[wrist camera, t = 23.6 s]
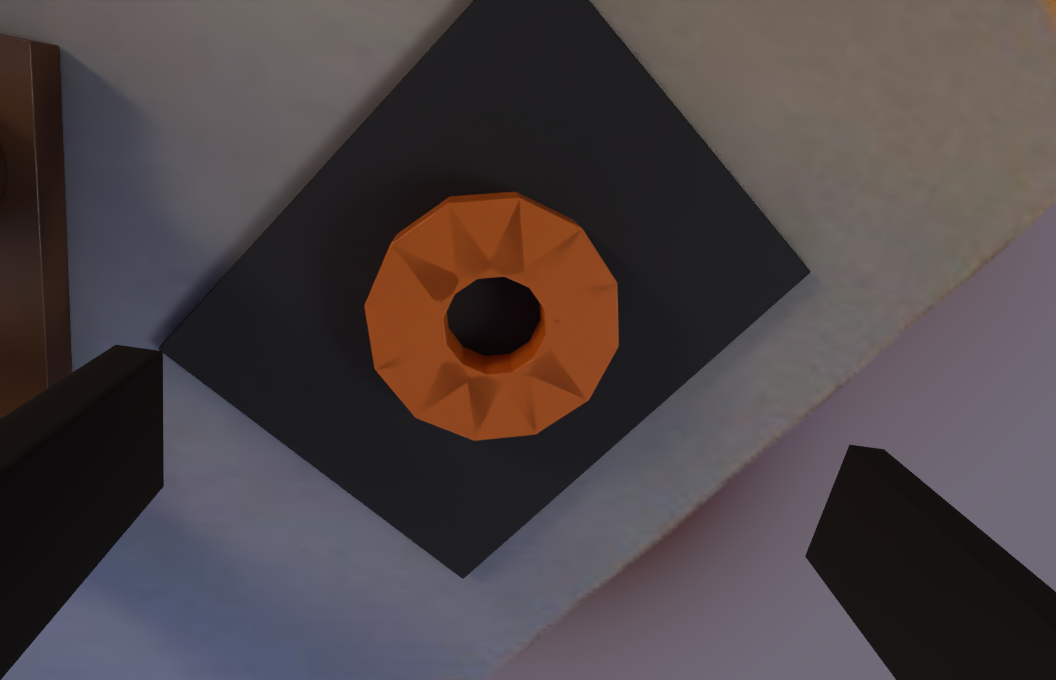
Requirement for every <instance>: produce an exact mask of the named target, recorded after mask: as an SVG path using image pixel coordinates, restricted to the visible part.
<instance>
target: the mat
mask: <svg viewBox="0 0 1056 680" xmlns="http://www.w3.org/2000/svg"><path fill="white" fill-rule="evenodd" d="M502 192H518V193H520V194H522V195H524V196H526V197H528V198H530V199H532V200H534V201H536V202H538V203H540V204H542V205H544V206H547V207H549V208H551V209H553V210H555V211H557V212H559V213H561V214H563V215H565V216H567V217H569V218H571V219H573V220H574V221H575V222H576V223H577V224H578V225H580V226H581V227H582V228H583V230H584V232H585V233H586V235H587V236H588V238H589V239H590V241H591V242H592V244H593V246H594V247H595V249H596V250H597V252H598V253H599V255H600V257H601V258H602V260H603V261H604V263H605V264H606V266H607V267H608V269H609V271H610V272H611V274H612V275H613V277H614V278H615V280H616V282H617V284H618V329H619V347H618V348H617V350H616V352H615V354H614V356H613V358H612V359H611V361H610V363H609V365H608V367H607V368H606V370H605V372H604V374H603V376H602V377H601V379H600V381H599V383H598V385H597V386H596V388H595V390H594V392H593V394H592V395H591V397H590V399H589V400H588V401H587V402H585V403H584V404H582V405H581V406H579V407H577V408H576V409H574V410H573V411H571V412H570V413H568V414H567V415H565V416H563V417H562V418H560V419H559V420H557V421H556V422H554V423H553V424H551V425H549V426H548V427H546V428H545V429H543V430H542V431H540V432H539V433H537V434H536V435H526V436H516V437H506V438H497V439H487V440H477V441H473V440H471V439H469V438H466V437H463V436H461V435H458V434H456V433H453V432H451V431H448V430H446V429H443V428H440V427H438V426H435V425H433V424H430V423H428V422H425V421H422V420H420V419H417V418H415V417H414V415H413V414H412V413H411V412H410V411H409V409H408V408H407V407H406V406H405V405H404V403H403V402H402V401H401V400H400V399H399V398H398V396H397V395H396V394H395V393H394V392H393V390H392V389H391V388H390V387H389V386H388V384H387V383H386V382H385V381H384V380H383V378H382V377H381V376H380V375H379V374H378V373H377V371H376V370H375V369H374V363H373V357H372V350H371V344H370V338H369V332H368V325H367V319H366V313H365V307H364V305H365V303H366V300H367V298H368V296H369V293H370V291H371V289H372V286H373V284H374V281H375V279H376V277H377V274H378V272H379V270H380V267H381V265H382V263H383V260H384V258H385V256H386V253H387V251H388V248H389V246H390V244H391V242H392V241H393V239H394V238H395V236H396V235H397V234H398V233H399V232H401V231H402V230H403V229H405V228H406V227H408V226H409V225H411V224H412V223H413V222H415V221H416V220H418V219H419V218H420V217H422V216H423V215H425V214H426V213H427V212H429V211H430V210H432V209H433V208H434V207H436V206H437V205H439V204H440V203H442V202H443V201H444V200H446V199H447V198H449V197H451V196H464V195H476V194H489V193H502ZM809 273H810V270H809V269H808V268H807V267H806V265H805V264H804V263H803V262H802V261H801V259H800V258H799V257H798V256H797V254H796V253H795V252H794V251H793V250H792V248H791V247H790V246H789V245H788V243H787V242H786V241H785V240H784V238H783V237H782V236H781V235H780V234H779V232H778V231H777V230H776V229H775V227H774V226H773V225H772V224H771V223H770V221H769V220H768V219H767V218H766V216H765V215H764V214H763V213H762V212H761V210H760V209H759V208H758V207H757V205H756V204H755V203H754V202H753V201H752V199H751V198H750V197H749V196H748V194H747V193H746V192H745V191H744V190H743V188H742V187H741V186H740V185H739V183H738V182H737V181H736V180H735V179H734V177H733V176H732V175H731V174H730V172H729V171H728V170H727V169H726V168H725V166H724V165H723V164H722V163H721V161H720V160H719V159H718V158H717V157H716V155H715V154H714V153H713V152H712V150H711V149H710V148H709V147H708V146H707V144H706V143H705V142H704V141H703V139H702V138H701V137H700V136H699V135H698V133H697V132H696V131H695V130H694V128H693V127H692V126H691V125H690V124H689V122H688V121H687V120H686V119H685V117H684V116H683V115H682V114H681V113H680V111H679V110H678V109H677V108H676V106H675V105H674V104H673V103H672V102H671V100H670V99H669V98H668V97H667V95H666V94H665V93H664V92H663V91H662V89H661V88H660V87H659V86H658V84H657V83H656V82H655V81H654V79H653V78H652V77H651V76H650V75H649V73H648V72H647V71H646V70H645V68H644V67H643V66H642V65H641V64H640V62H639V61H638V60H637V59H636V57H635V56H634V55H633V54H632V53H631V51H630V50H629V49H628V48H627V46H626V45H625V44H624V43H623V42H622V40H621V39H620V38H619V37H618V35H617V34H616V33H615V32H614V31H613V29H612V28H611V27H610V26H609V24H608V23H607V22H606V21H605V20H604V18H603V17H602V16H601V15H600V13H599V12H598V11H597V10H596V9H595V7H594V6H593V5H592V4H591V2H590V1H589V0H474V1H473V2H472V3H471V4H470V5H469V6H468V8H467V9H466V10H465V11H464V12H463V13H462V14H461V15H460V16H459V17H458V19H457V20H456V21H455V22H454V23H453V24H452V25H451V26H450V27H449V28H448V30H447V31H446V32H445V33H444V34H443V35H442V36H441V37H440V38H439V40H438V41H437V42H436V43H435V44H434V45H433V46H432V47H431V48H430V49H429V51H428V52H427V53H426V54H425V55H424V56H423V57H422V58H421V59H420V60H419V62H418V63H417V64H416V65H415V66H414V67H413V68H412V69H411V70H410V71H409V73H408V74H407V75H406V76H405V77H404V78H403V79H402V80H401V81H400V83H399V84H398V85H397V86H396V87H395V88H394V89H393V90H392V91H391V92H390V94H389V95H388V96H387V97H386V98H385V99H384V100H383V101H382V102H381V103H380V105H379V106H378V107H377V108H376V109H375V110H374V111H373V112H372V113H371V114H370V116H369V117H368V118H367V119H366V120H365V121H364V122H363V123H362V124H361V126H360V127H359V128H358V129H357V130H356V131H355V132H354V133H353V134H352V135H351V137H350V138H349V139H348V140H347V141H346V142H345V143H344V144H343V145H342V146H341V148H340V149H339V150H338V151H337V152H336V153H335V154H334V155H333V156H332V157H331V159H330V160H329V161H328V162H327V163H326V164H325V165H324V166H323V167H322V169H321V170H320V171H319V172H318V173H317V174H316V175H315V176H314V177H313V178H312V180H311V181H310V182H309V183H308V184H307V185H306V186H305V187H304V188H303V189H302V191H301V192H300V193H299V194H298V195H297V196H296V197H295V198H294V199H293V200H292V202H291V203H290V204H289V205H288V206H287V207H286V208H285V209H284V210H283V211H282V213H281V214H280V215H279V216H278V217H277V218H276V219H275V220H274V221H273V223H272V224H271V225H270V226H269V227H268V228H267V229H266V230H265V231H264V232H263V234H262V235H261V236H260V237H259V238H258V239H257V240H256V241H255V242H254V243H253V245H252V246H251V247H250V248H249V249H248V250H247V251H246V252H245V253H244V254H243V256H242V257H241V258H240V259H239V260H238V261H237V262H236V263H235V264H234V266H233V267H232V268H231V269H230V270H229V271H228V272H227V273H226V274H225V275H224V277H223V278H222V279H221V280H220V281H219V282H218V283H217V284H216V285H215V286H214V288H213V289H212V290H211V291H210V292H209V293H208V294H207V295H206V296H205V297H204V299H203V300H202V301H201V302H200V303H199V304H198V305H197V306H196V307H195V309H194V310H193V311H192V312H191V313H190V314H189V315H188V316H187V317H186V318H185V320H184V321H183V322H182V323H181V324H180V325H179V326H178V327H177V328H176V329H175V331H174V332H173V333H172V334H171V335H170V336H169V337H168V338H167V339H166V340H165V342H164V343H163V344H162V345H161V346H160V347H159V350H160V351H163V353H164V354H166V355H167V356H168V357H170V358H171V359H172V360H174V361H175V362H176V363H178V364H179V365H180V366H181V367H183V368H184V369H185V370H187V371H188V372H189V373H191V374H192V375H193V376H195V377H196V378H197V379H199V380H200V381H201V382H203V383H204V384H205V385H207V386H208V387H209V388H211V389H212V390H213V391H215V392H216V393H217V394H219V395H220V396H221V397H223V398H224V399H225V400H227V401H228V402H229V403H231V404H232V405H233V406H234V407H236V408H237V409H238V410H240V411H241V412H242V413H244V414H245V415H246V416H248V417H249V418H250V419H252V420H253V421H254V422H256V423H257V424H258V425H260V426H261V427H262V428H264V429H265V430H266V431H268V432H269V433H270V434H272V435H273V436H274V437H276V438H277V439H278V440H280V441H281V442H282V443H284V444H285V445H286V446H287V447H289V448H290V449H291V450H293V451H294V452H295V453H297V454H298V455H299V456H301V457H302V458H303V459H305V460H306V461H307V462H309V463H310V464H311V465H313V466H314V467H315V468H317V469H318V470H319V471H321V472H322V473H323V474H325V475H326V476H327V477H329V478H330V479H331V480H333V481H334V482H335V483H337V484H338V485H339V486H340V487H342V488H343V489H344V490H346V491H347V492H348V493H350V494H351V495H352V496H354V497H355V498H356V499H358V500H359V501H360V502H362V503H363V504H364V505H366V506H367V507H368V508H370V509H371V510H372V511H374V512H375V513H376V514H378V515H379V516H380V517H382V518H383V519H384V520H386V521H387V522H388V523H390V524H391V525H392V526H393V527H395V528H396V529H397V530H399V531H400V532H401V533H403V534H404V535H405V536H407V537H408V538H409V539H411V540H412V541H413V542H415V543H416V544H417V545H419V546H420V547H421V548H423V549H424V550H425V551H427V552H428V553H429V554H431V555H432V556H433V557H435V558H436V559H437V560H439V561H440V562H441V563H443V564H444V565H445V566H446V567H448V568H449V569H450V570H452V571H453V572H454V573H456V574H457V575H458V576H460V577H461V578H465V577H466V576H467V575H468V574H469V573H470V572H471V571H473V570H474V569H475V568H476V567H477V566H478V565H479V564H480V563H482V562H483V561H484V560H485V559H486V558H487V557H488V556H490V555H491V554H492V553H493V552H494V551H495V550H496V549H497V548H499V547H500V546H501V545H502V544H503V543H504V542H505V541H507V540H508V539H509V538H510V537H511V536H512V535H513V534H514V533H516V532H517V531H518V530H519V529H520V528H521V527H522V526H524V525H525V524H526V523H527V522H528V521H529V520H530V519H531V518H533V517H534V516H535V515H536V514H537V513H538V512H539V511H541V510H542V509H543V508H544V507H545V506H546V505H547V504H548V503H550V502H551V501H552V500H553V499H554V498H555V497H556V496H557V495H559V494H560V493H561V492H562V491H563V490H564V489H565V488H567V487H568V486H569V485H570V484H571V483H572V482H573V481H574V480H576V479H577V478H578V477H579V476H580V475H581V474H582V473H584V472H585V471H586V470H587V469H588V468H589V467H590V466H591V465H593V464H594V463H595V462H596V461H597V460H598V459H599V458H601V457H602V456H603V455H604V454H605V453H606V452H607V451H608V450H610V449H611V448H612V447H613V446H614V445H615V444H616V443H618V442H619V441H620V440H621V439H622V438H623V437H624V436H625V435H627V434H628V433H629V432H630V431H631V430H632V429H633V428H635V427H636V426H637V425H638V424H639V423H640V422H641V421H642V420H644V419H645V418H646V417H647V416H648V415H649V414H650V413H652V412H653V411H654V410H655V409H656V408H657V407H658V406H659V405H661V404H662V403H663V402H664V401H665V400H666V399H667V398H669V397H670V396H671V395H672V394H673V393H674V392H675V391H676V390H678V389H679V388H680V387H681V386H682V385H683V384H684V383H686V382H687V381H688V380H689V379H690V378H691V377H692V376H693V375H695V374H696V373H697V372H698V371H699V370H700V369H701V368H703V367H704V366H705V365H706V364H707V363H708V362H709V361H710V360H712V359H713V358H714V357H715V356H716V355H717V354H718V353H719V352H721V351H722V350H723V349H724V348H725V347H726V346H727V345H729V344H730V343H731V342H732V341H733V340H734V339H735V338H736V337H738V336H739V335H740V334H741V333H742V332H743V331H744V330H746V329H747V328H748V327H749V326H750V325H751V324H752V323H753V322H755V321H756V320H757V319H758V318H759V317H760V316H761V315H763V314H764V313H765V312H766V311H767V310H768V309H769V308H770V307H772V306H773V305H774V304H775V303H776V302H777V301H778V300H780V299H781V298H782V297H783V296H784V295H785V294H786V293H787V292H789V291H790V290H791V289H792V288H793V287H794V286H795V285H797V284H798V283H799V282H800V281H801V280H802V279H803V278H804V277H806V276H807V275H808V274H809ZM447 318H448V327H449V329H450V330H451V332H452V333H453V334H454V336H455V337H456V338H457V339H458V341H459V342H460V343H461V345H462V346H463V347H465V348H467V349H470V350H472V351H474V352H477V353H479V354H481V355H484V356H491V355H501V354H510V353H512V352H513V351H515V350H516V349H518V348H519V347H521V346H522V345H524V344H525V343H527V342H528V341H530V339H531V337H532V335H533V333H534V331H535V329H536V327H537V325H538V323H539V321H540V308H539V301H538V300H537V298H536V297H535V296H534V294H533V293H532V291H531V290H530V288H528V287H526V286H524V285H522V284H520V283H517V282H515V281H513V280H511V279H509V278H507V277H495V278H483V279H477V280H475V281H474V282H472V283H471V284H469V285H468V286H466V287H465V288H464V289H462V290H461V291H459V292H458V293H456V294H455V295H454V297H453V299H452V302H451V304H450V306H449V308H448V310H447Z"/></svg>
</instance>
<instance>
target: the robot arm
mask: <svg viewBox="0 0 1056 680" xmlns="http://www.w3.org/2000/svg"><path fill="white" fill-rule="evenodd" d="M163 486H164V482H163V351H157V350H149V349H142V348H135V347H127V346H120V345H115V346H113V347H112V348H110V349H109V350H107V351H106V352H104V353H102V354H101V355H99V356H98V357H96V358H95V359H93V360H91V361H90V362H88V363H87V364H85V365H84V366H82V367H81V368H79V369H77V370H76V371H74V372H73V373H71V374H70V375H68V376H67V377H65V378H63V379H62V380H60V381H59V382H57V383H56V384H54V385H53V386H51V387H49V388H48V389H46V390H45V391H43V392H42V393H40V394H39V395H37V396H35V397H34V398H32V399H31V400H29V401H28V402H26V403H24V404H23V405H21V406H20V407H18V408H17V409H15V410H14V411H12V412H10V413H9V414H7V415H6V416H4V417H3V418H1V419H0V680H1V679H2V678H3V676H4V675H5V674H6V673H7V672H8V670H9V669H10V668H11V667H12V666H13V665H14V663H15V662H16V661H17V660H18V659H19V657H20V656H21V655H22V654H23V653H24V651H25V650H26V649H27V648H28V647H29V646H30V644H31V643H32V642H33V641H34V640H35V638H36V637H37V636H38V635H39V634H40V632H41V631H42V630H43V629H44V628H45V626H46V625H47V624H48V623H49V622H50V621H51V619H52V618H53V617H54V616H55V615H56V613H57V612H58V611H59V610H60V609H61V607H62V606H63V605H64V604H65V603H66V602H67V600H68V599H69V598H70V597H71V596H72V594H73V593H74V592H75V591H76V590H77V588H78V587H79V586H80V585H81V584H82V583H83V581H84V580H85V579H86V578H87V577H88V575H89V574H90V573H91V572H92V571H93V569H94V568H95V567H96V566H97V565H98V563H99V562H100V561H101V560H102V559H103V558H104V556H105V555H106V554H107V553H108V552H109V550H110V549H111V548H112V547H113V546H114V544H115V543H116V542H117V541H118V540H119V539H120V537H121V536H122V535H123V534H124V533H125V531H126V530H127V529H128V528H129V527H130V525H131V524H132V523H133V522H134V521H135V520H136V518H137V517H138V516H139V515H140V514H141V512H142V511H143V510H144V509H145V508H146V506H147V505H148V504H149V503H150V502H151V500H152V499H153V498H154V497H155V496H156V495H157V493H158V492H159V491H160V490H161V489H162V487H163ZM806 558H807V559H808V561H809V562H810V563H811V565H812V566H813V568H814V569H815V570H816V572H817V573H818V574H819V576H820V577H821V578H822V580H823V581H824V582H825V584H826V585H827V586H828V588H829V589H830V590H831V592H832V593H833V595H834V596H835V597H836V599H837V600H838V601H839V603H840V604H841V606H842V607H843V608H844V610H845V611H846V612H847V614H848V615H849V616H850V618H851V619H852V620H853V622H854V623H855V625H856V626H857V627H858V628H859V630H860V631H861V633H862V634H863V635H864V637H865V638H866V639H867V641H868V642H869V643H870V645H871V646H872V647H873V649H874V650H875V652H876V653H877V654H878V656H879V657H880V658H881V660H882V661H883V662H884V664H885V665H886V667H887V668H888V669H889V671H890V672H891V673H892V675H893V676H894V677H895V679H896V680H1056V592H1055V591H1054V590H1053V589H1051V588H1050V587H1049V586H1048V585H1046V584H1045V583H1044V582H1043V581H1042V580H1041V579H1039V578H1038V577H1037V576H1036V575H1034V574H1033V573H1032V572H1031V571H1030V570H1029V569H1027V568H1026V567H1025V566H1024V565H1022V564H1021V563H1020V562H1019V561H1018V560H1016V559H1015V558H1014V557H1013V556H1012V555H1010V554H1009V553H1008V552H1007V551H1006V550H1004V549H1003V548H1002V547H1001V546H1000V545H998V544H997V543H996V542H995V541H993V540H992V539H991V538H990V537H989V536H988V535H986V534H985V533H984V532H983V531H982V530H980V529H979V528H978V527H977V526H976V525H974V524H973V523H972V522H971V521H969V520H968V519H967V518H966V517H965V516H963V515H962V514H961V513H960V512H959V511H957V510H956V509H955V508H954V507H953V506H951V505H950V504H949V503H948V502H947V501H945V500H944V499H943V498H942V497H941V496H939V495H938V494H937V493H935V491H933V490H932V489H931V488H930V487H928V486H927V485H926V484H925V483H923V481H921V480H920V479H919V478H918V477H917V476H915V475H914V474H913V473H912V472H910V471H909V470H908V469H907V468H906V467H904V466H903V465H902V464H901V463H900V462H898V461H897V460H896V459H894V457H892V456H891V455H890V454H889V453H888V452H886V451H885V450H884V449H876V448H870V447H862V446H855V445H849V448H848V450H847V453H846V455H845V458H844V460H843V463H842V465H841V468H840V470H839V473H838V475H837V478H836V480H835V483H834V485H833V488H832V490H831V493H830V495H829V498H828V501H827V503H826V505H825V508H824V510H823V513H822V515H821V518H820V521H819V523H818V526H817V528H816V531H815V533H814V536H813V538H812V541H811V543H810V546H809V548H808V551H807V553H806Z"/></svg>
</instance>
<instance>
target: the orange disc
mask: <svg viewBox="0 0 1056 680" xmlns="http://www.w3.org/2000/svg"><path fill="white" fill-rule="evenodd" d="M495 277H507V278H509V279H511V280H513V281H515V282H517V283H520V284H522V285H524V286H526V287H528V288H530V290H531V291H532V293H533V294H534V296H535V297H536V298H537V300H538V301H539V308H540V321H539V323H538V325H537V327H536V329H535V331H534V333H533V335H532V337H531V339H530V341H528V342H527V343H525V344H524V345H522V346H521V347H519V348H518V349H516V350H515V351H513V352H512V353H510V354H501V355H491V356H484V355H481V354H479V353H477V352H474V351H472V350H470V349H467V348H465V347H463V346H462V345H461V343H460V342H459V341H458V339H457V338H456V337H455V336H454V334H453V333H452V332H451V330H450V329H449V327H448V318H447V310H448V308H449V306H450V304H451V302H452V299H453V297H454V295H455V294H456V293H458V292H459V291H461V290H462V289H464V288H465V287H466V286H468V285H469V284H471V283H472V282H474V281H475V280H477V279H483V278H495ZM364 307H365V313H366V319H367V325H368V332H369V338H370V344H371V350H372V357H373V363H374V369H375V370H376V371H377V373H378V374H379V375H380V376H381V377H382V378H383V380H384V381H385V382H386V383H387V384H388V386H389V387H390V388H391V389H392V390H393V392H394V393H395V394H396V395H397V396H398V398H399V399H400V400H401V401H402V402H403V403H404V405H405V406H406V407H407V408H408V409H409V411H410V412H411V413H412V414H413V415H414V417H415V418H417V419H420V420H422V421H425V422H428V423H430V424H433V425H435V426H438V427H440V428H443V429H446V430H448V431H451V432H453V433H456V434H458V435H461V436H463V437H466V438H469V439H471V440H473V441H477V440H487V439H497V438H506V437H516V436H526V435H536V434H537V433H539V432H540V431H542V430H543V429H545V428H546V427H548V426H549V425H551V424H553V423H554V422H556V421H557V420H559V419H560V418H562V417H563V416H565V415H567V414H568V413H570V412H571V411H573V410H574V409H576V408H577V407H579V406H581V405H582V404H584V403H585V402H587V401H588V400H589V399H590V397H591V395H592V394H593V392H594V390H595V388H596V386H597V385H598V383H599V381H600V379H601V377H602V376H603V374H604V372H605V370H606V368H607V367H608V365H609V363H610V361H611V359H612V358H613V356H614V354H615V352H616V350H617V348H618V347H619V329H618V284H617V282H616V280H615V278H614V277H613V275H612V274H611V272H610V271H609V269H608V267H607V266H606V264H605V263H604V261H603V260H602V258H601V257H600V255H599V253H598V252H597V250H596V249H595V247H594V246H593V244H592V242H591V241H590V239H589V238H588V236H587V235H586V233H585V232H584V230H583V228H582V227H581V226H580V225H578V224H577V223H576V222H575V221H574V220H573V219H571V218H569V217H567V216H565V215H563V214H561V213H559V212H557V211H555V210H553V209H551V208H549V207H547V206H544V205H542V204H540V203H538V202H536V201H534V200H532V199H530V198H528V197H526V196H524V195H522V194H520V193H518V192H502V193H489V194H476V195H464V196H451V197H449V198H447V199H446V200H444V201H443V202H442V203H440V204H439V205H437V206H436V207H434V208H433V209H432V210H430V211H429V212H427V213H426V214H425V215H423V216H422V217H420V218H419V219H418V220H416V221H415V222H413V223H412V224H411V225H409V226H408V227H406V228H405V229H403V230H402V231H401V232H399V233H398V234H397V235H396V236H395V238H394V239H393V241H392V242H391V244H390V246H389V248H388V251H387V253H386V256H385V258H384V260H383V263H382V265H381V267H380V270H379V272H378V274H377V277H376V279H375V281H374V284H373V286H372V289H371V291H370V293H369V296H368V298H367V300H366V303H365V305H364Z"/></svg>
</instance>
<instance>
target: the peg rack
mask: <svg viewBox="0 0 1056 680" xmlns="http://www.w3.org/2000/svg"><path fill="white" fill-rule="evenodd" d="M71 373H72V359H71V333H70V307H69V282H68V256H67V230H66V205H65V179H64V153H63V127H62V102H61V76H60V50H59V46H56V45H51V44H46V43H41V42H36V41H31V40H26V39H21V38H16V37H11V36H6V35H1V34H0V419H1V418H3V417H4V416H6V415H7V414H9V413H10V412H12V411H14V410H15V409H17V408H18V407H20V406H21V405H23V404H24V403H26V402H28V401H29V400H31V399H32V398H34V397H35V396H37V395H39V394H40V393H42V392H43V391H45V390H46V389H48V388H49V387H51V386H53V385H54V384H56V383H57V382H59V381H60V380H62V379H63V378H65V377H67V376H68V375H70V374H71Z"/></svg>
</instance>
